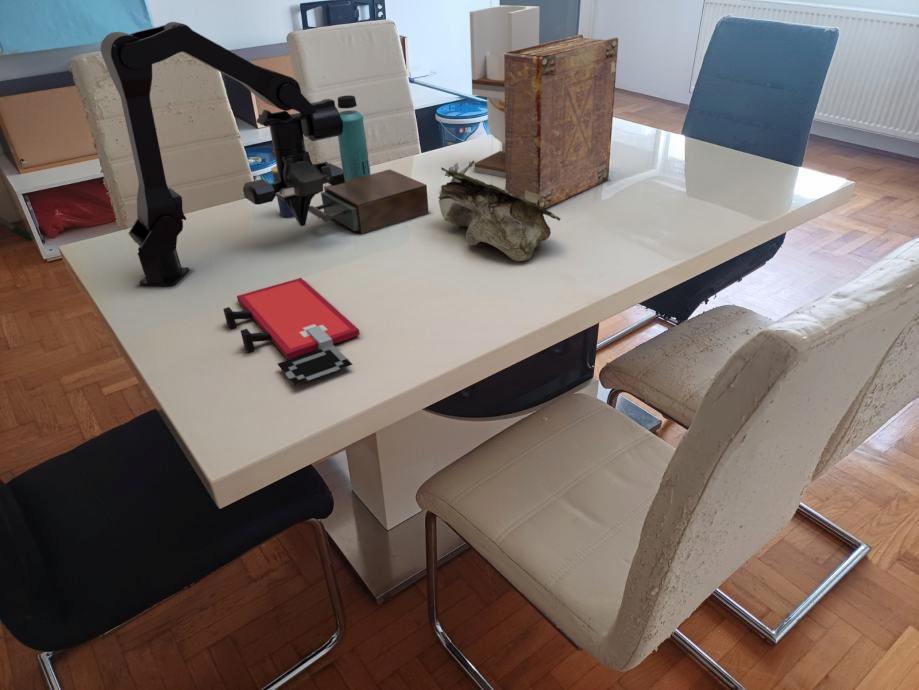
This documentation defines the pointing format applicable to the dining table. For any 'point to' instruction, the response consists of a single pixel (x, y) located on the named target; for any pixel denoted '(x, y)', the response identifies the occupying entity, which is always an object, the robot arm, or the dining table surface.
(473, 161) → the dry twiggy plant
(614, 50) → the book
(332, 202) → the drawer
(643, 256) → the dining table surface
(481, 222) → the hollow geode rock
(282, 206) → the tin
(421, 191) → the cabinet
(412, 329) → the dining table surface
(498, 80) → the display case
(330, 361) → the red board with handle
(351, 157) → the beverage bottle
